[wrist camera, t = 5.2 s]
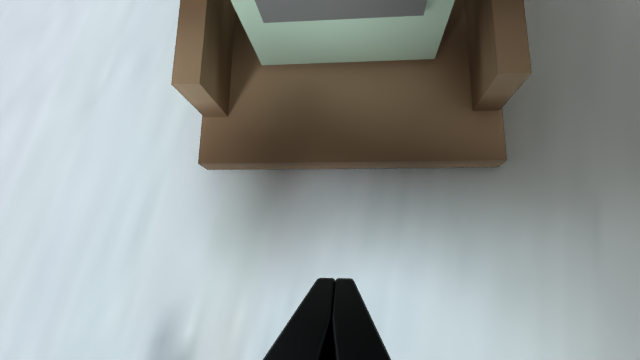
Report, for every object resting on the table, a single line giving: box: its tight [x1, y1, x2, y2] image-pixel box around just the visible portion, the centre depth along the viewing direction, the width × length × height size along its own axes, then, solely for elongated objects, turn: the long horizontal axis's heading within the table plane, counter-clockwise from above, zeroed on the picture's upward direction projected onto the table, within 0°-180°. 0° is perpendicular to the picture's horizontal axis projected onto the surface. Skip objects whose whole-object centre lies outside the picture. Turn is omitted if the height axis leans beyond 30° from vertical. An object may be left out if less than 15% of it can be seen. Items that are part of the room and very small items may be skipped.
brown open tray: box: [171, 0, 531, 170], centre depth 15 cm, size 12×12×5 cm
